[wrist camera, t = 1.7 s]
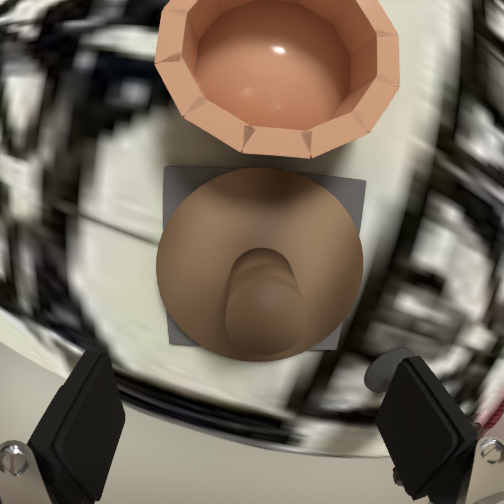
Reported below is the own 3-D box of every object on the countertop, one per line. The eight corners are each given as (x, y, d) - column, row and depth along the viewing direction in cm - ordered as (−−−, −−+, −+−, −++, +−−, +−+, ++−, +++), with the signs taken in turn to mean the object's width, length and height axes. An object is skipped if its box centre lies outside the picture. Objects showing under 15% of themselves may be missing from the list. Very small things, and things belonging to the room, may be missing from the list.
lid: (369, 178, 17) (422, 192, 11) (338, 351, 21) (362, 410, 15) (160, 163, 17) (119, 169, 11) (166, 345, 21) (145, 406, 15)
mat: (362, 180, 18) (366, 180, 17) (334, 344, 21) (336, 349, 21) (166, 166, 17) (163, 166, 17) (171, 338, 21) (169, 343, 20)
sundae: (434, 362, 23) (515, 481, 8) (377, 406, 24) (432, 537, 10) (405, 323, 21) (511, 469, 7) (340, 376, 23) (398, 540, 8)
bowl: (362, 8, 14) (392, -24, 9) (358, 165, 17) (394, 170, 13) (190, -9, 14) (175, -49, 9) (173, 151, 17) (147, 151, 12)
